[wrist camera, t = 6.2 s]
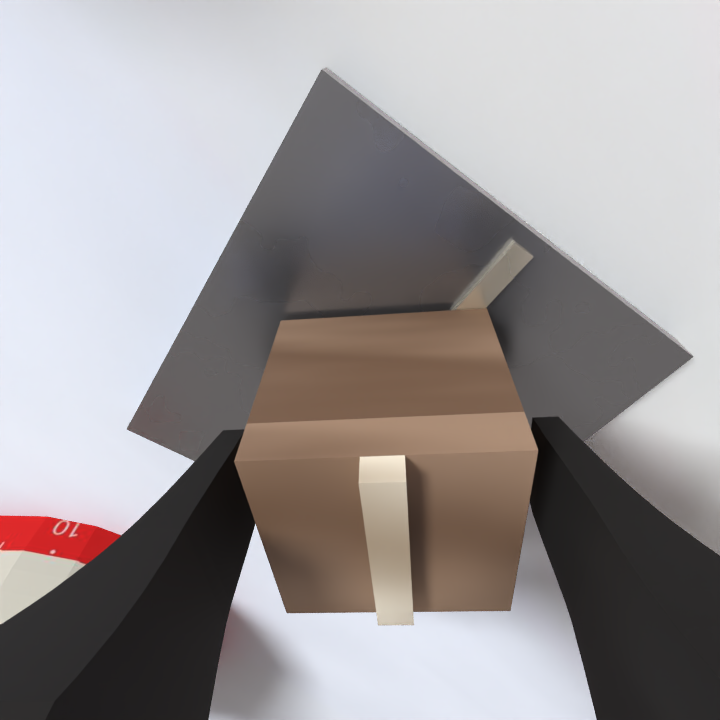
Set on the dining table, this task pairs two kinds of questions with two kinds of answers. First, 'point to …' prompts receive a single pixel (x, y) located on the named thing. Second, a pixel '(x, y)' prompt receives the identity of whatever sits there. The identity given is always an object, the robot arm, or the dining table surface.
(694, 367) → the dining table surface
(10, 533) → the kitchen timer
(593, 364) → the hub plate
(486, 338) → the taped cardboard box
